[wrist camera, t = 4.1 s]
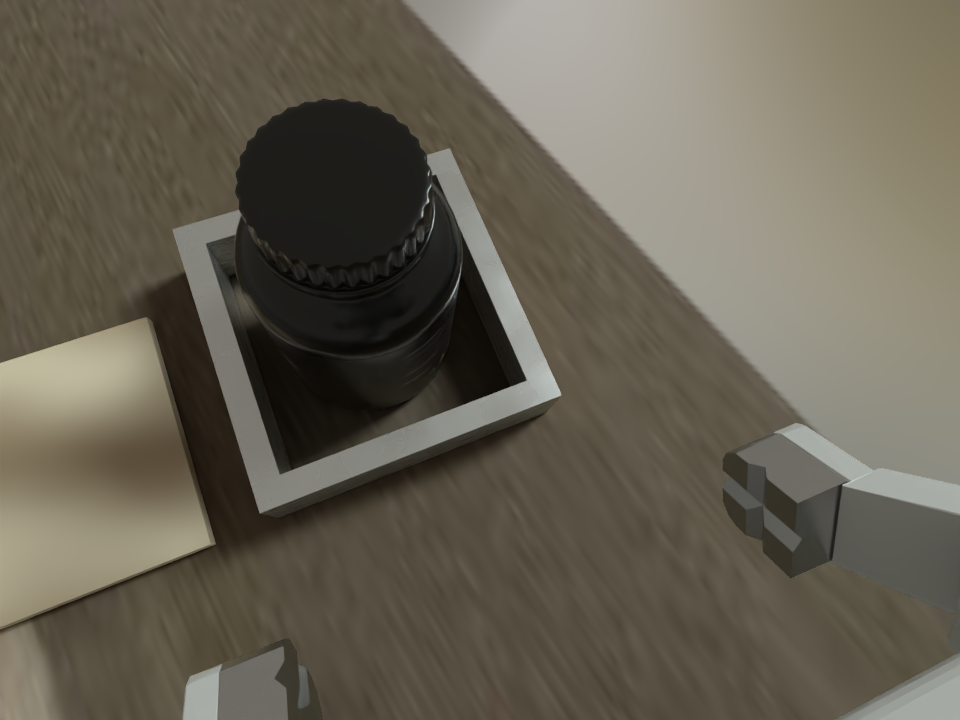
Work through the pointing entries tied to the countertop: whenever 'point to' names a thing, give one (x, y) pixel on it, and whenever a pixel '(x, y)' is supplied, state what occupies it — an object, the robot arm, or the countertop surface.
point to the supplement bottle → (348, 251)
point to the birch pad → (91, 471)
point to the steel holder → (293, 490)
